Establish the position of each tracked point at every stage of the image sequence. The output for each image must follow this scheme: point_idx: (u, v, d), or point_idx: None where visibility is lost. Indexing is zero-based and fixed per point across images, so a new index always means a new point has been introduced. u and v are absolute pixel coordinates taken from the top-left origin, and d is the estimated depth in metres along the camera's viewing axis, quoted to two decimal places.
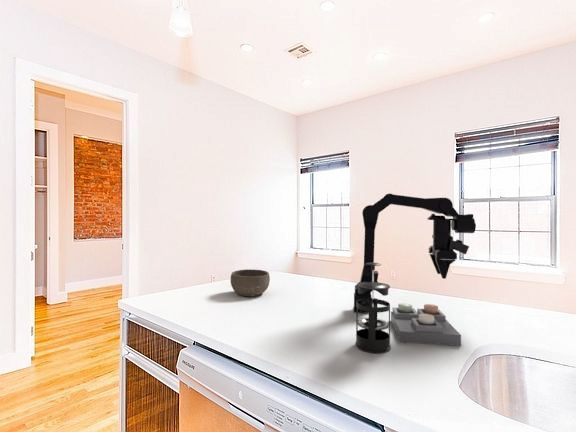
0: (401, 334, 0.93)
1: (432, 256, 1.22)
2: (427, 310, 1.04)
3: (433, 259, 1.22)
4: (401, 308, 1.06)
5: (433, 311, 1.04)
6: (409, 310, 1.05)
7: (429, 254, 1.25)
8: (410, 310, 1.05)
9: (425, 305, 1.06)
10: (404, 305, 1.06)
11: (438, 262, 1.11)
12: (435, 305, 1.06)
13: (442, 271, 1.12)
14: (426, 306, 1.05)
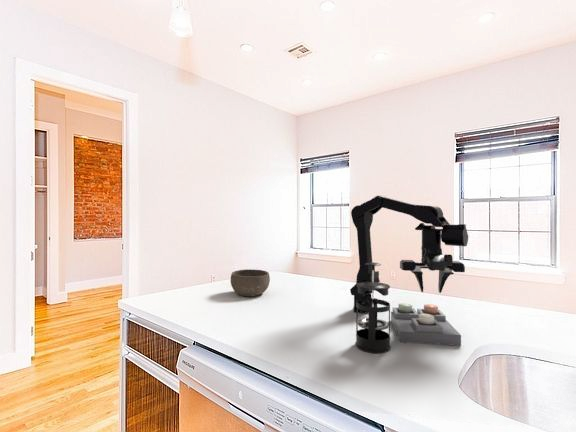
0: (401, 334, 0.93)
1: (439, 271, 1.07)
2: (427, 310, 1.04)
3: (439, 275, 1.07)
4: (401, 308, 1.06)
5: (433, 311, 1.04)
6: (409, 310, 1.05)
7: None
8: (410, 310, 1.05)
9: (425, 305, 1.06)
10: (404, 305, 1.06)
11: (414, 273, 1.09)
12: (435, 305, 1.06)
13: (418, 283, 1.07)
14: (426, 306, 1.05)
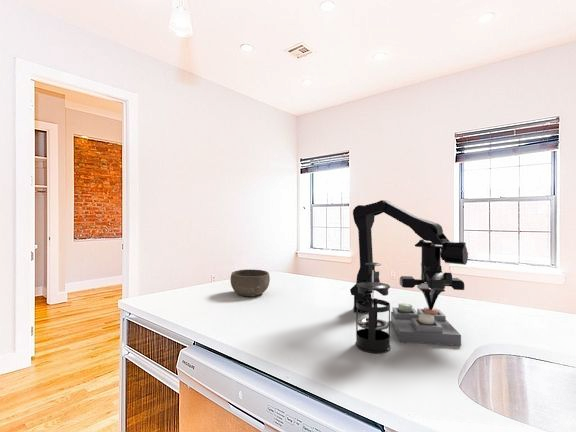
0: (401, 334, 0.93)
1: (431, 288, 1.08)
2: (427, 313, 1.04)
3: (430, 291, 1.08)
4: (401, 308, 1.06)
5: (433, 314, 1.04)
6: (409, 310, 1.05)
7: None
8: (410, 310, 1.05)
9: (425, 308, 1.06)
10: (404, 305, 1.06)
11: None
12: (435, 308, 1.06)
13: (426, 300, 1.07)
14: (426, 309, 1.05)
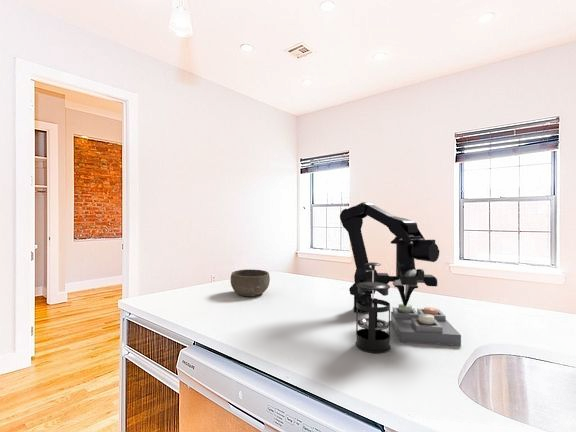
0: (401, 334, 0.93)
1: (405, 284, 1.09)
2: (427, 313, 1.04)
3: (405, 288, 1.09)
4: (401, 309, 1.06)
5: (433, 314, 1.04)
6: (409, 310, 1.05)
7: None
8: (410, 311, 1.05)
9: (425, 308, 1.06)
10: (404, 306, 1.06)
11: None
12: (435, 308, 1.06)
13: (401, 297, 1.08)
14: (426, 309, 1.05)
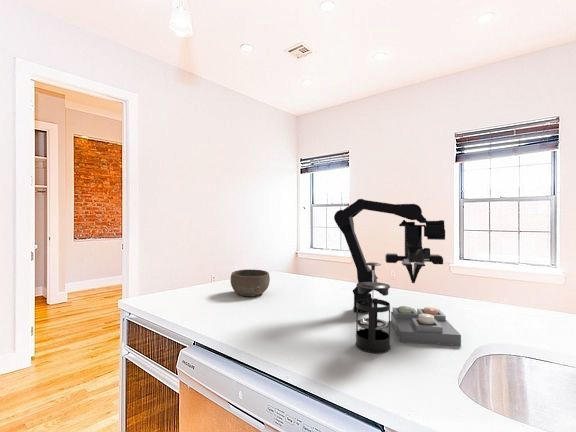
0: (401, 334, 0.93)
1: (414, 264, 1.18)
2: (427, 313, 1.04)
3: None
4: (401, 311, 1.06)
5: (433, 314, 1.04)
6: None
7: None
8: None
9: (425, 308, 1.06)
10: (404, 308, 1.06)
11: (405, 265, 1.18)
12: (435, 308, 1.06)
13: (409, 275, 1.17)
14: (426, 309, 1.05)
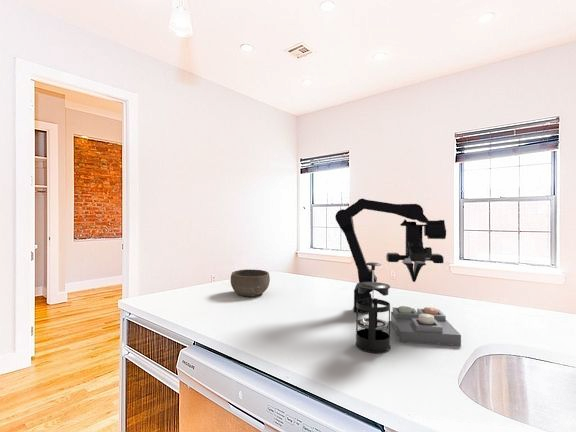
0: (401, 334, 0.93)
1: (414, 263, 1.20)
2: (427, 313, 1.04)
3: (414, 266, 1.19)
4: (401, 311, 1.06)
5: (433, 314, 1.04)
6: None
7: None
8: None
9: (425, 308, 1.06)
10: (404, 308, 1.06)
11: (406, 264, 1.20)
12: (435, 308, 1.06)
13: (410, 274, 1.18)
14: (426, 309, 1.05)
